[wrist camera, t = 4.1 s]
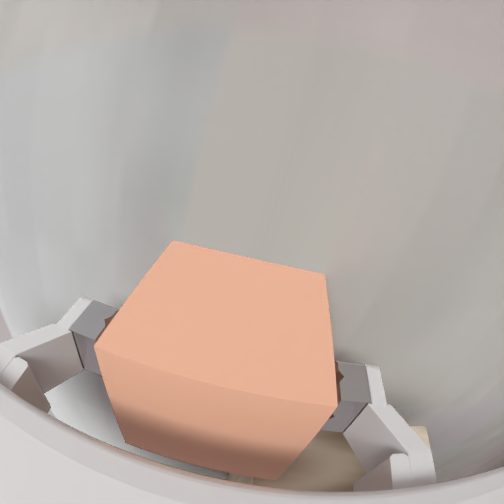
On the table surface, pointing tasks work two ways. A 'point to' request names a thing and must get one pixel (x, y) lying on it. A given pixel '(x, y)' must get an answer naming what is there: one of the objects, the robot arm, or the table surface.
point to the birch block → (321, 466)
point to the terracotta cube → (221, 361)
